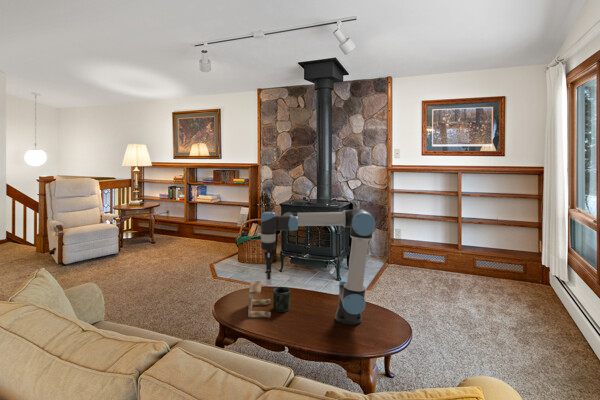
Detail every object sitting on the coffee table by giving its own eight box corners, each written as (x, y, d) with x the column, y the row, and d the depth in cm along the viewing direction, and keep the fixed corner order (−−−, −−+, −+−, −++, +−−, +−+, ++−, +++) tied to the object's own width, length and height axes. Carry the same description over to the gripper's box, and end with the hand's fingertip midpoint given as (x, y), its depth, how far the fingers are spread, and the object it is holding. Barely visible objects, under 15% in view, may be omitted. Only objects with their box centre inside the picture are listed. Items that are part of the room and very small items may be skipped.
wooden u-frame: (270, 303, 228) (270, 280, 226) (270, 317, 206) (270, 292, 205) (250, 303, 227) (250, 280, 225) (248, 318, 205) (248, 292, 204)
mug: (292, 306, 223) (292, 287, 222) (286, 315, 209) (286, 296, 208) (275, 304, 226) (275, 286, 225) (268, 313, 212) (268, 294, 211)
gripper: (261, 236, 200) (261, 273, 202) (261, 246, 175) (261, 289, 177) (274, 236, 201) (274, 273, 203) (276, 246, 176) (276, 288, 178)
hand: (268, 280), depth 190 cm, fingers open, 13 cm apart
